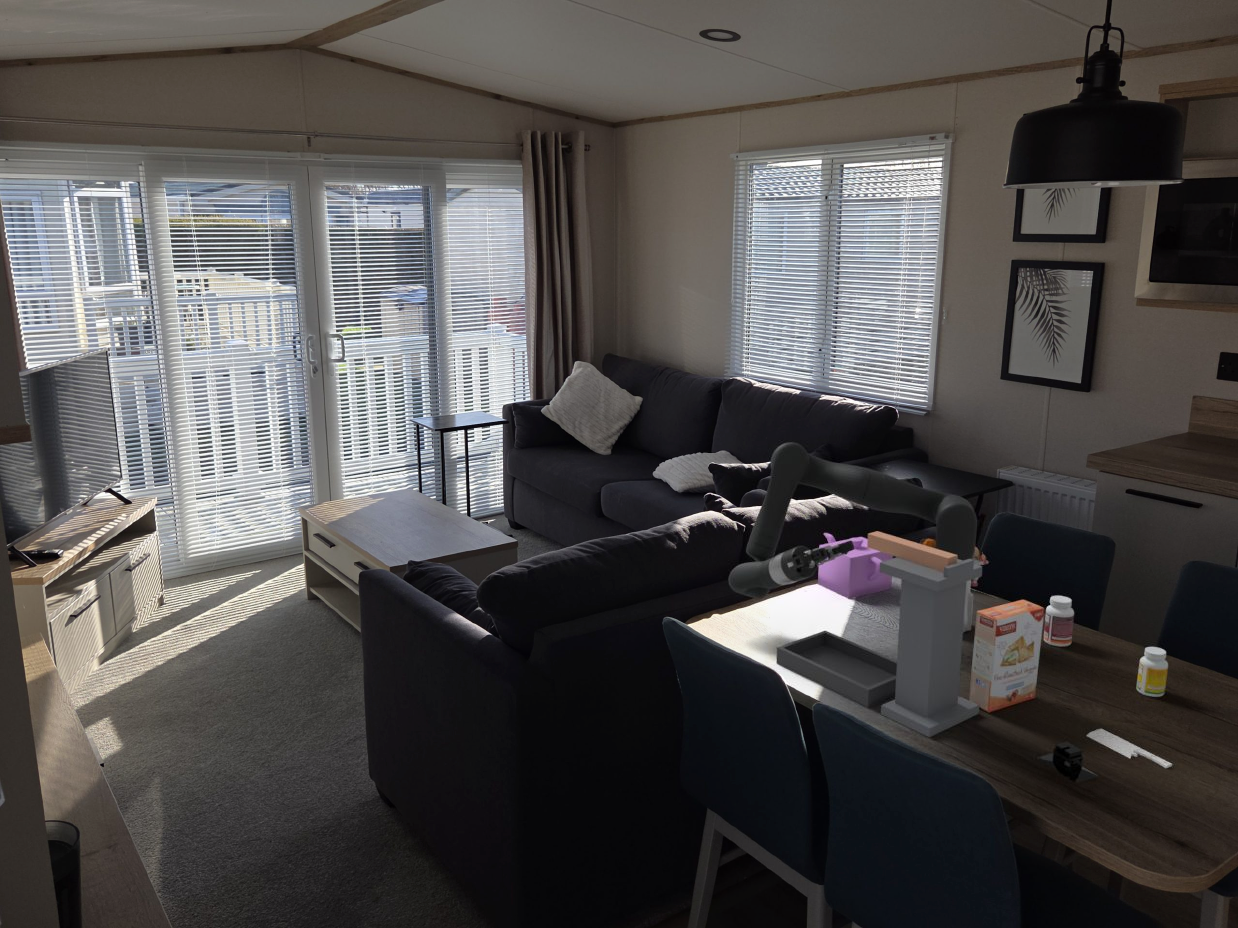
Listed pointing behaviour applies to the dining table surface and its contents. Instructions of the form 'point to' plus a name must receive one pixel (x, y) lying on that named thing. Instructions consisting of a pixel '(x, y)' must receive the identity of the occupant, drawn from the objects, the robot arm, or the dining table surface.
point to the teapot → (854, 570)
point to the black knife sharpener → (1068, 762)
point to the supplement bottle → (1152, 672)
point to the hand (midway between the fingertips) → (839, 548)
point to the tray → (841, 667)
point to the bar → (911, 550)
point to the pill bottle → (1059, 621)
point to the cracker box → (1006, 655)
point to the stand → (930, 645)
